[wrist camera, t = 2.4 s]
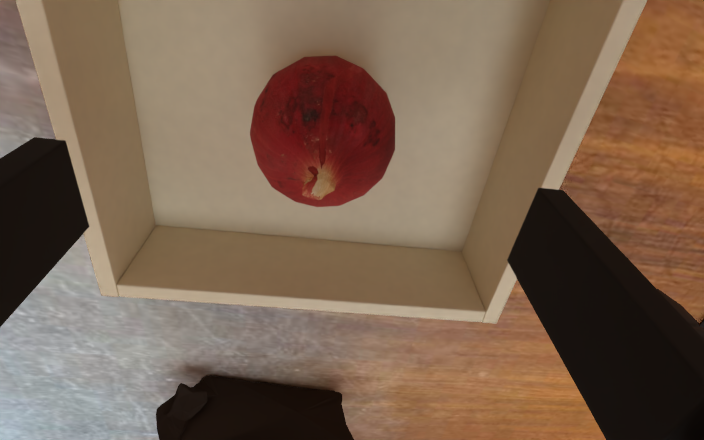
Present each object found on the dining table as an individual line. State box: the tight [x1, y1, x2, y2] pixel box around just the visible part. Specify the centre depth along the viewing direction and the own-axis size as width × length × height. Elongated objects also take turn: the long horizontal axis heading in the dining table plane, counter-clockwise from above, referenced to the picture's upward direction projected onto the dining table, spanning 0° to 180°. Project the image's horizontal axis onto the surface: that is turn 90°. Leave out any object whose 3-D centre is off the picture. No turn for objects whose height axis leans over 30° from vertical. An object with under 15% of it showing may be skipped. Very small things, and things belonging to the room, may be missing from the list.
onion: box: [250, 56, 395, 207], centre depth 16 cm, size 6×6×8 cm
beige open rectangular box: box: [16, 0, 647, 323], centre depth 18 cm, size 20×18×5 cm
